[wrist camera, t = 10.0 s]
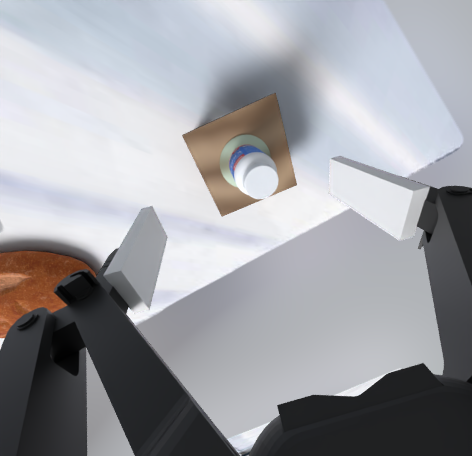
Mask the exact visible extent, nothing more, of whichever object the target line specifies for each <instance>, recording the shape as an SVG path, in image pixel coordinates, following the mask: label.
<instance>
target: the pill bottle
mask: <svg viewBox="0 0 472 456" xmlns="http://www.w3.org/2000/svg"><path fill="white" fill-rule="evenodd" d="M229 169H230V171H231V174H232V176H233V178H234V180H235V182H236V185H237V186H238V188H239V189H240V190H241V191H242V192H243V193H245V194H247V195H249V196H251V197H252V198H255V199H265V198H267V197H269V196H271V195H272V194H273V193H274V192H275V190H276V189H277V186H278V181H279V180H278V175H277V168H276V165H275V163H274V161H273V160H272V159H271V158H270V157H269V156H268V155H266V154H265V153H264V152H262V151H261V150H260V149H258V148H257V147H255V146H253V145H249V144H245V145H241V146H239V147H237V148H236V149H235V150H234V151H233V152H232V154H231V156H230V159H229Z"/></svg>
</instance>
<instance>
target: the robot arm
mask: <svg viewBox="0 0 472 456" xmlns="http://www.w3.org/2000/svg"><path fill="white" fill-rule="evenodd" d="M329 194H330V195H331V196H333V197H334V198H336V199H337V200H339V201H340V202H342V203H343V204H345V205H346V206H348V207H349V208H351V209H352V210H354V211H355V212H357V213H359V214H360V215H362V216H363V217H365V218H366V219H368V220H369V221H371V222H372V223H374V224H375V225H377V226H378V227H380V228H381V229H383V230H384V231H386V232H387V233H389V234H390V235H392V236H393V237H395V238H396V239H398V240H399V241H400V240H404V239H408V238H411V237H414V234H415V232H416V228H417V227H419V228H421V229H423V230H424V232H423V235H422V238H421V241H420V243H419V247H418V249H421V247H422V246H424V251H425V257H426V263H427V268H428V274H429V279H430V285H431V291H432V296H433V302H434V308H435V313H436V319H437V324H438V328H439V329H438V330H439V336H440V341H441V347H442V352H443V358H444V370H443V375H435V374H433V373H431V371H430V370H429V369H428V368H427V367H426V366H425V364H423V363H422V364H419V365H415V366H412V367H409V368H405V369H401V370H398V371H394V372H391V373H388V374H386V375H385V376H384V377H383V378H381V379H380V380H379V381H377V382H376V383H375V384H374V385H372V386H371V387H370V388H368V389H367V390H366V391H365V392H363V393H362V394H361V395H359V396H355V397H351V396H328V395H327V396H326V395H311V396H308V397H305V398H301V399H297V400H294V401H290V402H287V403H283V404H280V405H277V406H278V410H279V414H280V415H279V416H278V417H276V418H275V419H274V420H273V421H271V422H270V423H269V424H268V425H267V426H266V427H265V429H264V430H263V431H262V433H261V434H260V435H259V437H258V438H257V440H256V442H255V444H254V446H253V447H252V450H251V452H250V454H249V456H472V188H469V187H464V186H446V187H442V188H440V189H437V188H434V187H431V186H428V185H425V184H422V183H419V182H416V181H413V180H409V179H407V178H404V177H401V176H397V175H394V174H391V173H388V172H386V171H383V170H380V169H377V168H374V167H371V166H368V165H365V164H362V163H359V162H356V161H353V160H350V159H347V158H345V157H342V156H338V157H334V158H331V159H330V171H329ZM166 241H167V235H166V233H165V231H164V229H163V227H162V225H161V223H160V221H159V219H158V217H157V215H156V213H155V211H154V209H153V207H152V206H150V207H147V208H143V209H141V211H140V213H139V214H138V216H137V218H136V219H135V221H134V223H133V225H132V226H131V228H130V230H129V232H128V233H127V235H126V237H125V239H124V240H123V242H122V244H121V246H120V247H119V248H118V249H115V250H114V251H113V252H112V253H111V254H110V255H109V256H108V258H107V260H106V261H105V263H104V265H103V266H102V268H101V269H100V271H99V273H98V274H97V276H96V278H95V277H94V276H93V275H92V273H91V272H90V271H89V270H87V269H84V270H79V271H76V272H74V273H72V274H70V275H68V276H67V277H65V278H64V279H62V280H61V281H60V282H59V283H58V284H57V285H56V287H55V288H54V293H55V294H56V295H57V296H58V297H59V298H60V299H61V300H62V301H63V302H64V303H65V304H66V305H67V306H65V307H63V308H61V309H59V310H57V311H55V312H53V313H51V312H50V311H49V310H48V309H47V308H44V307H41V308H37V309H34V310H32V311H30V312H29V313H27V314H24V315H23V316H21V318H19V319H18V320H17V321H16V322H15V323H14V324H13V325H12V326H11V327H10V329H9V330H8V332H7V334H6V337H5V339H4V342H3V344H2V347H1V349H0V456H87V407H86V406H87V398H86V397H87V396H86V394H87V393H86V348H87V350H88V352H89V354H90V357H91V359H92V361H93V363H94V365H95V368H96V370H97V372H98V374H99V376H100V379H101V381H102V383H103V385H104V388H105V390H106V392H107V394H108V397H109V399H110V401H111V403H112V406H113V408H114V410H115V412H116V415H117V417H118V419H119V421H120V424H121V426H122V428H123V430H124V432H125V435H126V437H127V439H128V441H129V444H130V446H131V448H132V450H133V453H134V455H135V456H240V455H239V454H238V452H237V451H236V450H235V449H234V448H233V446H232V445H231V444H230V443H229V441H228V440H227V439H226V438H225V437H224V435H223V434H222V433H221V432H220V431H219V429H218V428H217V427H216V426H215V425H214V423H213V422H212V421H211V419H210V418H209V417H208V416H207V414H206V413H205V412H204V411H203V409H202V408H201V407H200V406H199V405H198V403H197V402H196V401H195V399H194V398H193V397H192V396H191V394H190V393H189V392H188V391H187V390H186V388H185V387H184V386H183V385H182V383H181V382H180V381H179V379H178V378H177V377H176V376H175V374H174V373H173V372H172V371H171V369H170V368H169V367H168V366H167V365H166V363H165V362H164V361H163V360H162V358H161V357H160V356H159V354H158V353H157V352H156V351H155V349H154V348H153V347H152V346H151V344H150V343H149V342H148V341H147V340H146V338H145V337H144V336H143V335H142V333H141V332H140V331H139V330H138V328H137V327H136V326H135V325H134V323H133V322H132V321H131V320H130V318H129V317H128V316H127V315H126V313H127V310H128V307H129V308H130V309H131V310H132V312H133V313H134V314H136V313H140V312H143V311H147V310H150V306H151V302H152V297H153V293H154V289H155V285H156V281H157V277H158V273H159V269H160V265H161V261H162V257H163V253H164V249H165V245H166Z"/></svg>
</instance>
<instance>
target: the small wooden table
mask: <svg viewBox="0 0 472 456" xmlns="http://www.w3.org/2000/svg"><path fill="white" fill-rule="evenodd" d="M182 136H183V138H184V140H185V142H186V144H187V146H188V148H189V150H190V153H191V155H192V157H193V159H194V161H195V163H196V165H197V167H198V169H199V171H200V173H201V175H202V177H203V179H204V181H205V183H206V185H207V187H208V189H209V191H210V193H211V195H212V197H213V199H214V201H215V204H216V206H217V208H218V210H219V212H220V214H221V216H225V215H227V214H229V213H232V212H234V211H237V210H239V209H241V208H244V207H246V206H248V205H251V204H253V203H255V202H258V201H260V200H263V199H255V198H252V197H251V196H249V195H247V194H245V193H243V192H242V191H241V190H240V189H239V188H238V186H237V185H236V182H235V180H234V178H233V176H232V174H231V171H230V169H229V159H230V156H231V154H232V152H233V151H234V150H235V149H236V148H237V147H239V146H241V145H245V144H249V145H253V146H255V147H257V148H258V149H260V150H261V151H262V152H264V153H265V154H266V155H268V156H269V157H270V158H271V159H272V160H273V161H274V163H275V165H276V168H277V175H278V180H279V181H278V186H277V189H276V190H275V192H274V193H273V194H272V195H274V194H277V193H279V192H282V191H284V190H286V189H289V188H291V187H293V186H296V185H297V183H296V179H295V174H294V170H293V166H292V161H291V157H290V153H289V148H288V144H287V139H286V135H285V131H284V126H283V122H282V118H281V113H280V109H279V105H278V100H277V96H276V93H274V94H271V95H269V96H267V97H264V98H262V99H260V100H258V101H256V102H253V103H251V104H249V105H247V106H245V107H242V108H240V109H238V110H236V111H234V112H232V113H229V114H227V115H225V116H223V117H221V118H218V119H216V120H214V121H212V122H210V123H207V124H205V125H203V126H201V127H199V128H197V129H194V130H192V131H190V132H188V133H186V134H183V135H182ZM272 195H271V196H272ZM269 197H270V196H269Z"/></svg>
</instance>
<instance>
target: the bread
mask: <svg viewBox="0 0 472 456" xmlns="http://www.w3.org/2000/svg"><path fill="white" fill-rule="evenodd" d="M84 269H87V270H89V271H90V272H91V273H92V275H93V276H94V277H95V278H96V274H95V272H94V271H93V270H92V269H91V268H90V267H89V266H88V265H87V264H85V263H84V262H83V261H80V260H77V259H75V258H72V257H70V256H64V255H59V254H54V253H48V252H39V251H15V252H5V253H0V338H5V337H6V334H7V332H8V330H9V329H10V327H11V326H12V325H13V324H14V323H15V322H16V321H17V320H18V319H19V318H21V316H23V315H24V314H27V313H29V312H30V311H32V310H34V309H37V308H41V307H44V308H47V309H48V310H49V311H50V312H51V313H53V312H55V311H57V310H59V309H61V308H63V307H65V306H67V305H66V304H65V303H64V302H63V301H62V300H61V299H60V298H59V297H58V296H57V295H56V294H55V293H54V288H55V287H56V285H57V284H58V283H59V282H60V281H61V280H62V279H64V278H65V277H67V276H68V275H70V274H72V273H74V272H76V271H79V270H84Z"/></svg>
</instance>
